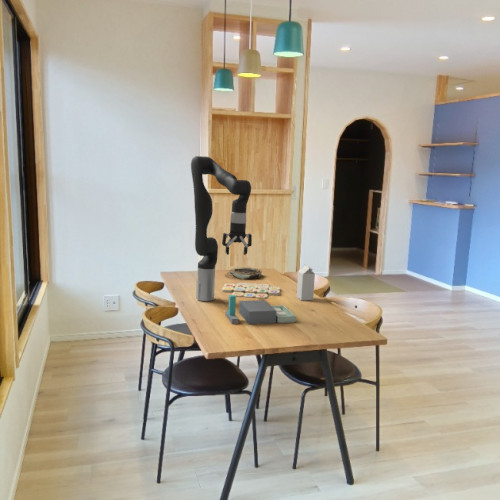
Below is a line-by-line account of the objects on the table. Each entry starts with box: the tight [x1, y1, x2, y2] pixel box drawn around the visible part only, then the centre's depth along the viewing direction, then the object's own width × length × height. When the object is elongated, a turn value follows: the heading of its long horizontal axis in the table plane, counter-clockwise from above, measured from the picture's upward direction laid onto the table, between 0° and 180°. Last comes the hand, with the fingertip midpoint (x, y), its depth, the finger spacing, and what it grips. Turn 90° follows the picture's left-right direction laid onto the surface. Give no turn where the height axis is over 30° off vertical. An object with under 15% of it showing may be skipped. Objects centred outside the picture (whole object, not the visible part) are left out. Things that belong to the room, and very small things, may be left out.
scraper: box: [224, 294, 239, 325], centre depth 230 cm, size 3×14×12 cm, turn 16°
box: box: [271, 304, 297, 324], centre depth 238 cm, size 9×18×3 cm, turn 15°
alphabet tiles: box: [221, 282, 281, 300], centre depth 286 cm, size 33×33×2 cm
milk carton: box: [296, 263, 316, 301], centre depth 272 cm, size 7×7×19 cm
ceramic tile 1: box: [276, 312, 287, 316], centre depth 235 cm, size 4×4×2 cm
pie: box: [227, 267, 265, 280], centre depth 323 cm, size 28×27×5 cm
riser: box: [238, 299, 277, 325], centre depth 235 cm, size 13×18×6 cm
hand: (236, 254), depth 240 cm, fingers open, 8 cm apart
